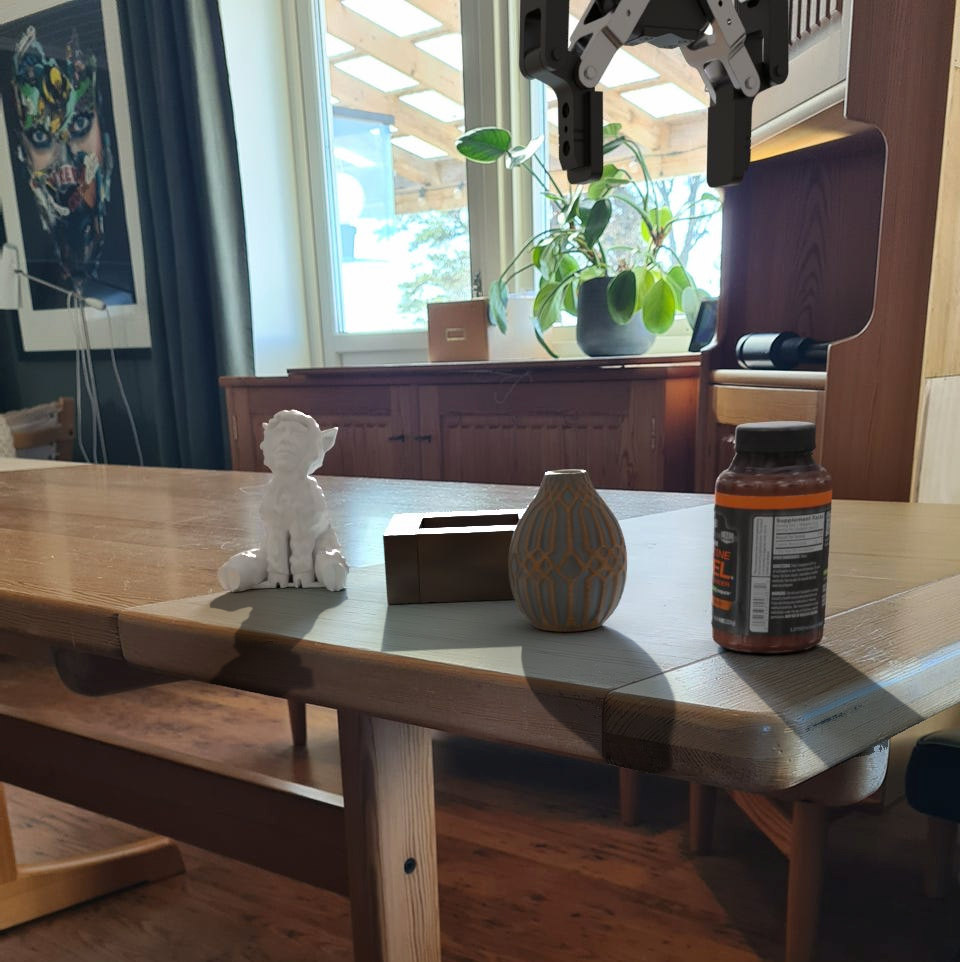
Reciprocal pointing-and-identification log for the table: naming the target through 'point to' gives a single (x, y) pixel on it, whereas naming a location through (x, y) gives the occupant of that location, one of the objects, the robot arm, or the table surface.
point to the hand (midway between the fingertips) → (657, 184)
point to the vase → (567, 556)
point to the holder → (449, 556)
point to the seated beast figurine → (291, 515)
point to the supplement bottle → (771, 541)
